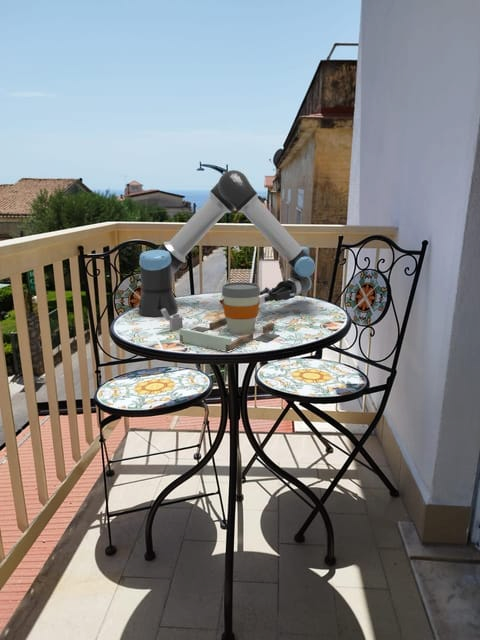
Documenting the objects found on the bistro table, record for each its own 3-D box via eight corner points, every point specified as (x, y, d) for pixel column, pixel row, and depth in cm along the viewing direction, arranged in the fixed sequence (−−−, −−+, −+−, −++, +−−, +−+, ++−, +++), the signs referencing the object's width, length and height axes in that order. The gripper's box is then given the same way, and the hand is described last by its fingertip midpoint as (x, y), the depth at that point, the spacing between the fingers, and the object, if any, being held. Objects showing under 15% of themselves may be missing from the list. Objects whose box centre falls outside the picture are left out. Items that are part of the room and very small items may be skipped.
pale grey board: (182, 340, 132) (181, 328, 131) (231, 351, 122) (231, 338, 121) (180, 341, 131) (179, 329, 130) (229, 352, 121) (229, 339, 120)
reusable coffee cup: (227, 336, 135) (226, 290, 131) (218, 326, 147) (218, 283, 143) (264, 333, 139) (265, 288, 135) (253, 323, 150) (253, 281, 146)
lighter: (180, 328, 145) (179, 305, 143) (183, 329, 144) (181, 306, 142) (161, 331, 141) (160, 308, 139) (163, 332, 140) (162, 309, 138)
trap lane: (217, 319, 155) (217, 313, 155) (287, 331, 140) (287, 325, 140) (167, 338, 134) (167, 332, 133) (244, 355, 119) (244, 348, 118)
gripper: (303, 300, 166) (274, 313, 147) (273, 296, 173) (242, 308, 154) (303, 281, 164) (274, 292, 145) (273, 278, 171) (242, 288, 152)
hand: (258, 300), depth 150 cm, fingers closed
